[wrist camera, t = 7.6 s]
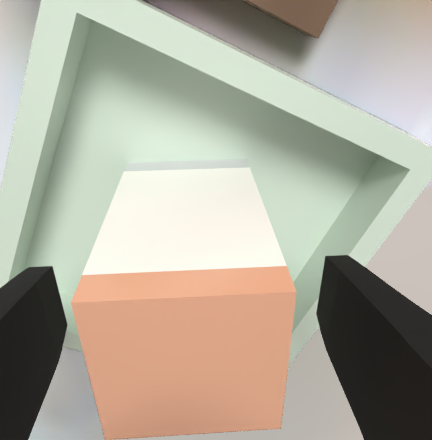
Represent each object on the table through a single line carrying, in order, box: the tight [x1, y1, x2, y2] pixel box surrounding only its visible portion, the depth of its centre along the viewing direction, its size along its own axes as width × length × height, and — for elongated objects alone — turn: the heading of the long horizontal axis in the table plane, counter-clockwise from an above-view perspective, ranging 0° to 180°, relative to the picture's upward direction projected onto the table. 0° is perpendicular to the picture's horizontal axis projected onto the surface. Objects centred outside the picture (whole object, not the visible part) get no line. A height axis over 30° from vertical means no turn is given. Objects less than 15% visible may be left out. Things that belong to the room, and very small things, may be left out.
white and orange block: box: [71, 159, 296, 440], centre depth 11 cm, size 4×4×7 cm
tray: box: [0, 0, 432, 368], centre depth 13 cm, size 12×12×2 cm
